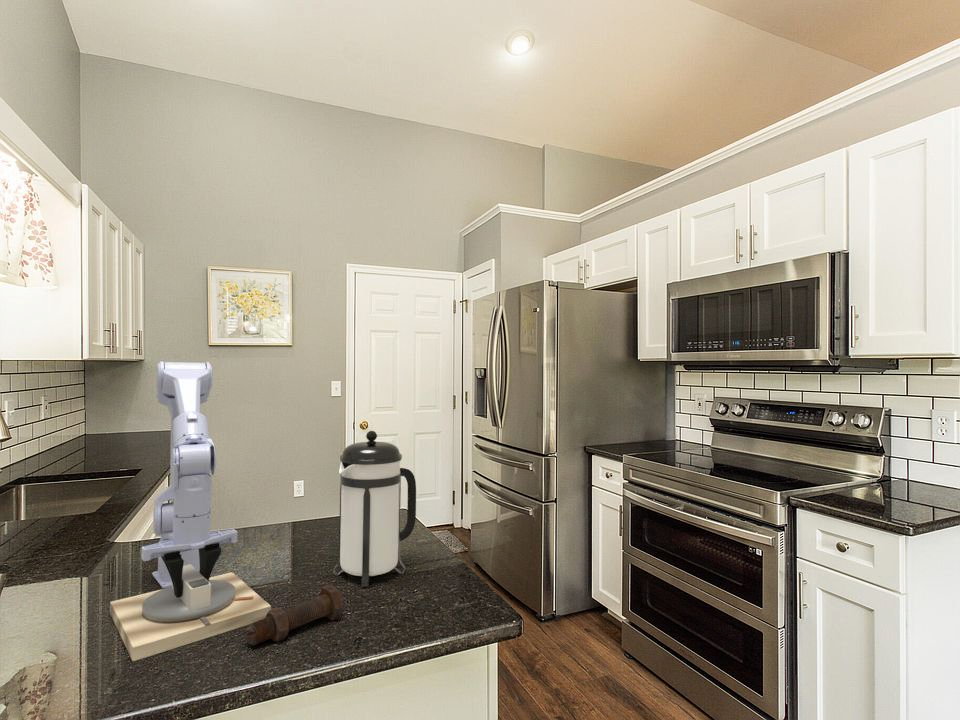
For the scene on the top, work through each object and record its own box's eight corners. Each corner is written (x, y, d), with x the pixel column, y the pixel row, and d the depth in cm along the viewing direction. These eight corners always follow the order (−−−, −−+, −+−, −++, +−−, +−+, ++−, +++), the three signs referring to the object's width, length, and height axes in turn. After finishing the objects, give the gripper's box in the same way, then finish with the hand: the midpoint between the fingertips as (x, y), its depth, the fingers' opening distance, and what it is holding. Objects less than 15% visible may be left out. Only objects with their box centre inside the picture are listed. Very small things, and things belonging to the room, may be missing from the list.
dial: (134, 600, 90) (135, 572, 90) (220, 579, 99) (221, 553, 99) (152, 631, 79) (153, 599, 79) (246, 603, 89) (247, 575, 89)
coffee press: (405, 589, 101) (407, 435, 102) (323, 588, 101) (326, 434, 102) (415, 557, 118) (417, 426, 119) (345, 556, 118) (348, 425, 119)
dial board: (110, 613, 90) (110, 600, 90) (231, 582, 103) (231, 570, 103) (132, 661, 75) (133, 646, 75) (270, 617, 89) (271, 604, 89)
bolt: (246, 658, 80) (332, 620, 91) (259, 653, 77) (346, 615, 88) (238, 619, 82) (323, 587, 93) (250, 613, 79) (336, 580, 90)
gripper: (148, 526, 82) (146, 613, 81) (244, 510, 92) (242, 587, 91) (139, 517, 87) (137, 598, 87) (230, 502, 97) (229, 575, 96)
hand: (190, 592), depth 89 cm, fingers open, 3 cm apart
